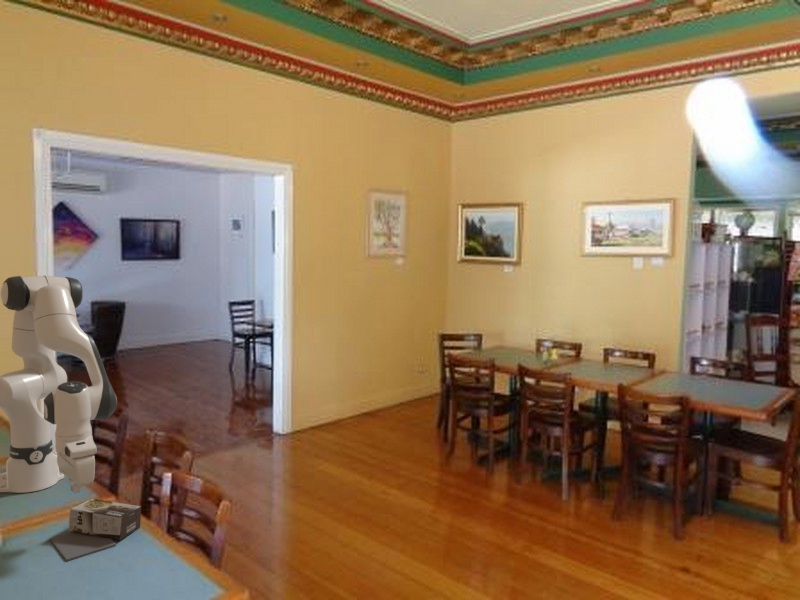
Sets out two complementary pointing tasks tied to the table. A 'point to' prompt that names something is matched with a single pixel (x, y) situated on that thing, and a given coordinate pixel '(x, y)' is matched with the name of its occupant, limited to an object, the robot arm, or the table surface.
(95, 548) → the mat
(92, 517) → the coffee box
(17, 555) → the table surface
